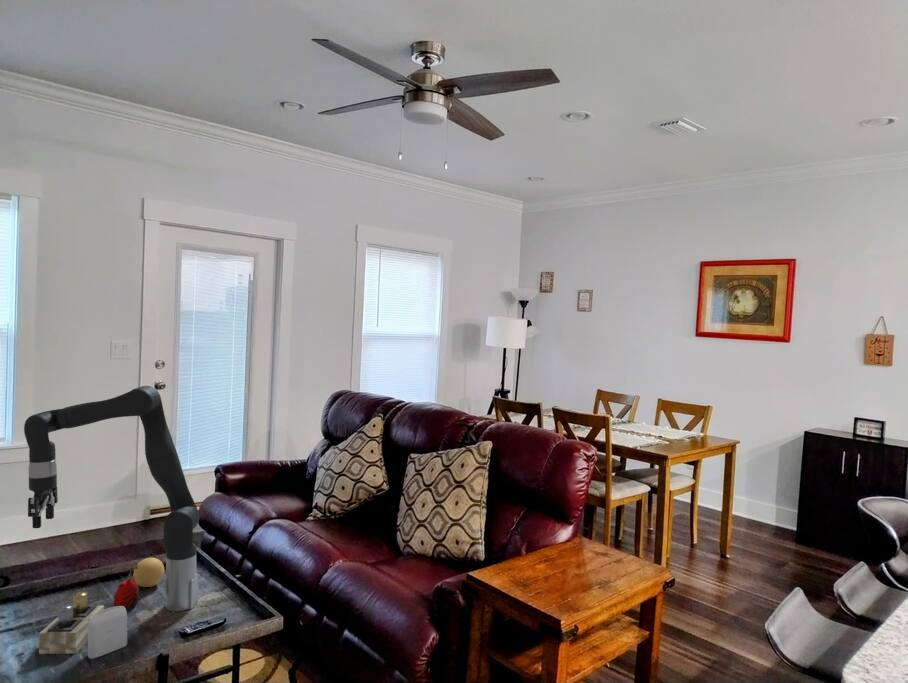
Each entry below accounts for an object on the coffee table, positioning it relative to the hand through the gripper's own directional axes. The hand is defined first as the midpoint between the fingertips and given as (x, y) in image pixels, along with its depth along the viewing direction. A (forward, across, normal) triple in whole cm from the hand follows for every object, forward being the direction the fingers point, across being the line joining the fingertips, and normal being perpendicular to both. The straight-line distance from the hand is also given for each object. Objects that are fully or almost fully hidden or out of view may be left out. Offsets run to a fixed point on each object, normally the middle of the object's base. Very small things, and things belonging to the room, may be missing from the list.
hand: (43, 523), depth 195 cm
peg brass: (+24, -16, -17) cm, 33 cm away
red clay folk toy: (+29, -2, -26) cm, 39 cm away
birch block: (+28, -20, -17) cm, 39 cm away
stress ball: (+29, +13, -28) cm, 42 cm away
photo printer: (+29, -28, -29) cm, 50 cm away
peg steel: (+24, -24, -16) cm, 38 cm away
